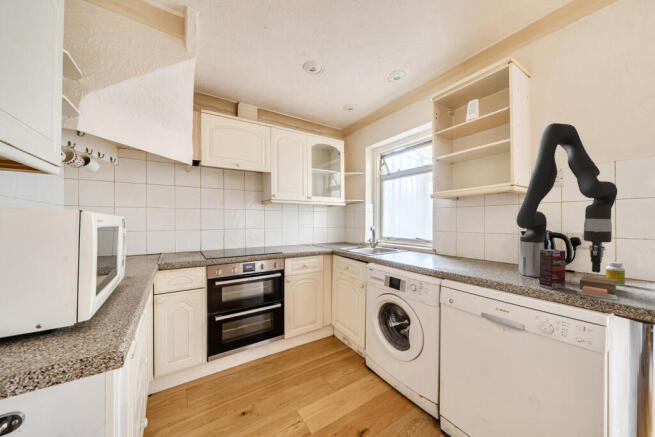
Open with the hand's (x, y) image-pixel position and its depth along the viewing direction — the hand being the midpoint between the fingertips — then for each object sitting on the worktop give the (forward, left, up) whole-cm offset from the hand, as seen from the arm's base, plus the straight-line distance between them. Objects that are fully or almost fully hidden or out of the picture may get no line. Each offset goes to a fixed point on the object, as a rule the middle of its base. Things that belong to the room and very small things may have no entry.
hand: (596, 272), depth 96 cm
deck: (+1, +1, -7) cm, 8 cm away
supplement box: (-15, -2, -8) cm, 17 cm away
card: (-5, -9, -5) cm, 11 cm away
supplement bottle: (+14, +16, -8) cm, 23 cm away
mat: (-4, -8, -7) cm, 12 cm away
